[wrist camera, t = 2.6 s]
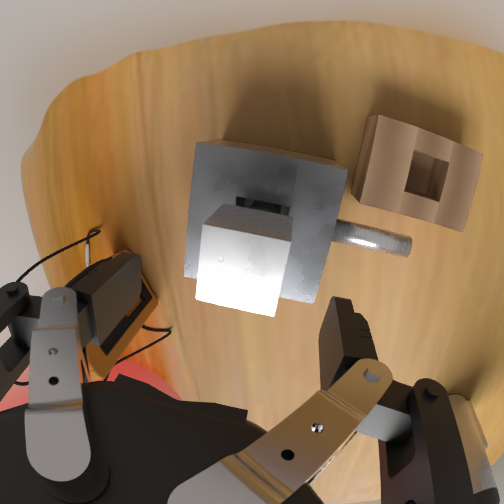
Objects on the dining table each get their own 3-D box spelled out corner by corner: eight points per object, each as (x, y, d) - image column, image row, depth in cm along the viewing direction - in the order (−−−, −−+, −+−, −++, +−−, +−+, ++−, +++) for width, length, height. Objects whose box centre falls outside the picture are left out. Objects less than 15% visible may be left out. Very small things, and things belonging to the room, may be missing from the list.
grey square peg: (294, 190, 24) (291, 242, 13) (285, 235, 26) (273, 316, 15) (246, 181, 24) (202, 224, 13) (239, 226, 26) (195, 299, 15)
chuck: (408, 180, 24) (440, 196, 18) (378, 278, 28) (396, 318, 22) (221, 139, 25) (196, 142, 19) (208, 243, 29) (183, 275, 23)
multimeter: (62, 247, 33) (-56, 332, 14) (114, 216, 30) (-36, 313, 11) (119, 342, 37) (40, 453, 19) (177, 328, 34) (97, 471, 16)
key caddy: (461, 150, 22) (483, 154, 18) (444, 218, 25) (462, 232, 21) (367, 116, 23) (378, 114, 19) (350, 193, 25) (359, 203, 22)
